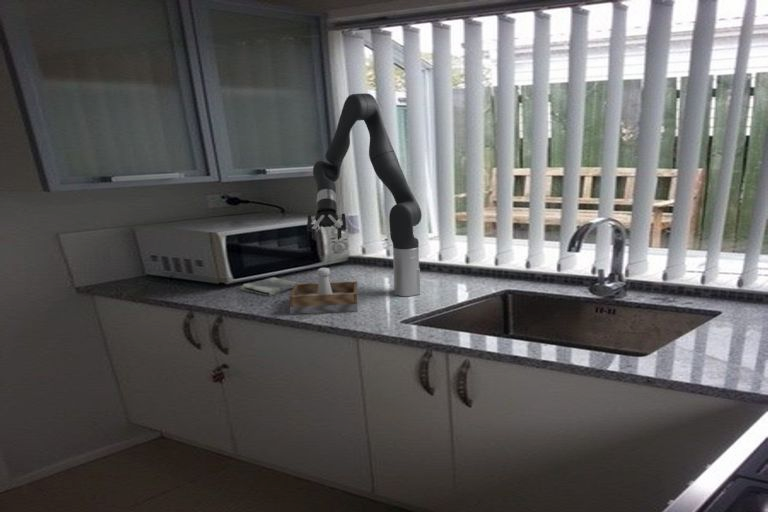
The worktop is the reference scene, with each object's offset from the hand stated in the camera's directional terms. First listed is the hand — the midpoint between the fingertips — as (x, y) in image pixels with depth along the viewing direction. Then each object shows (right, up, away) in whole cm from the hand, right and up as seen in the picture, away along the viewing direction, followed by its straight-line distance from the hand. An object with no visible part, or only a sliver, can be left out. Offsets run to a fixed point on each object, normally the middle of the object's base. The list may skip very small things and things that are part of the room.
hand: (326, 239), depth 189 cm
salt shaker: (0, -23, -8) cm, 25 cm away
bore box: (+1, -23, -9) cm, 25 cm away
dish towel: (-24, -19, +17) cm, 35 cm away
